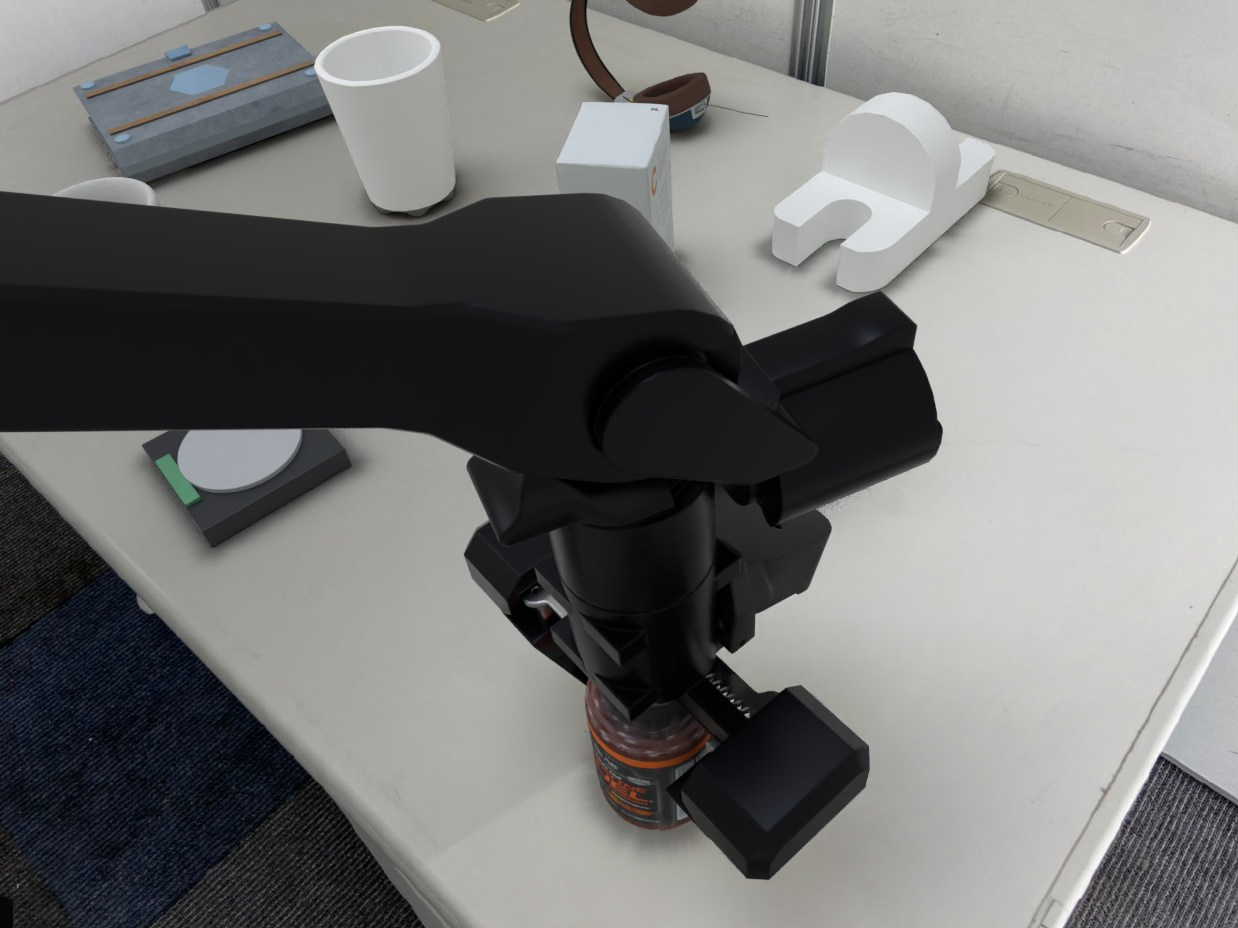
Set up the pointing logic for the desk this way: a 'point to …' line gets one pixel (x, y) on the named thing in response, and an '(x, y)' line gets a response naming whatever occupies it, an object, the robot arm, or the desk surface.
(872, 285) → the slotted bracket
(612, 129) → the small box
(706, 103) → the headphones
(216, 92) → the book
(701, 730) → the supplement bottle
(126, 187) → the cup
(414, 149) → the cup
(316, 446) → the scale
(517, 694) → the desk surface
